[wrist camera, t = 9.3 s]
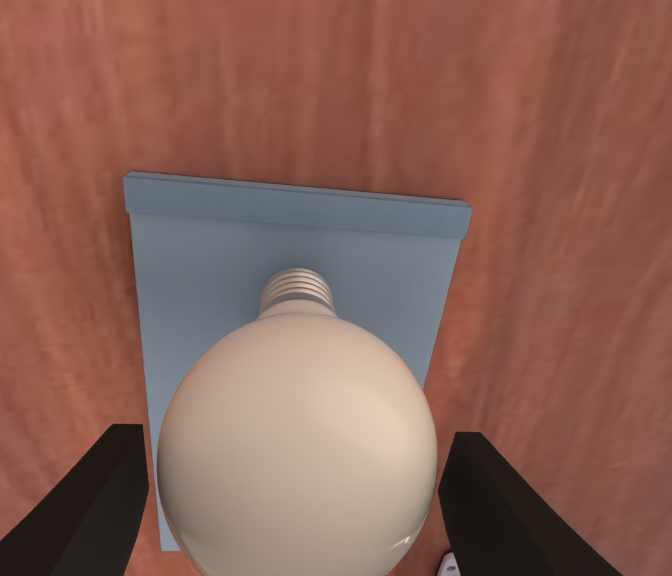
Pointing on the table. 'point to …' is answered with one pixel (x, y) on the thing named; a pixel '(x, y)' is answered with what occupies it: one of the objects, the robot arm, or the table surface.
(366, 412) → the lightbulb
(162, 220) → the blue lipped board
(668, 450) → the table surface
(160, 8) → the table surface
